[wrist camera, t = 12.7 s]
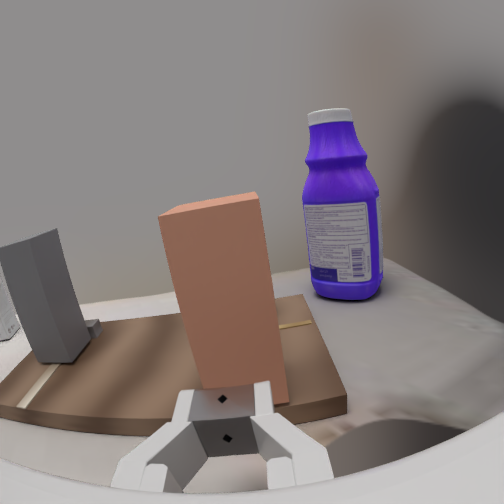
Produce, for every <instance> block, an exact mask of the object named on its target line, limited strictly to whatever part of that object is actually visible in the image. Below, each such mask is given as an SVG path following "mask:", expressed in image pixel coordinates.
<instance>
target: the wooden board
mask: <svg viewBox="0 0 504 504" xmlns="http://www.w3.org/2000/svg"><path fill="white" fill-rule="evenodd" d="M275 305H276V311H277V318H278V325H279V332H280V339H281V345H282V352H283V359H284V366H285V373H286V380H287V388H288V395H289V402H286V403H280V404H274V408H275V413H279V414H280V415H282V416H283V417H284V418H286V419H287V420H288V421H290V422H291V423H292V424H299V423H305V422H310V421H315V420H320V419H324V418H329V417H333V416H338V415H342V414H346V413H347V393H346V391H345V388H344V386H343V384H342V381H341V379H340V377H339V374H338V372H337V370H336V368H335V365H334V363H333V361H332V358H331V356H330V354H329V352H328V349H327V347H326V345H325V343H324V341H323V338H322V336H321V334H320V332H319V329H318V327H317V325H316V323H315V321H314V318H313V316H312V314H311V312H310V310H309V307H308V305H307V303H306V301H305V299H304V296H303V294H300V295H294V296H288V297H283V298H277V299H275ZM85 323H86V326H87V329H88V331H89V334H90V337H91V340H90V341H89V342H88V343H87V344H86V346H85V347H84V348H83V349H82V351H81V352H80V353H79V354H78V356H77V357H76V358H75V359H74V361H73V362H68V363H54V362H38V361H37V359H36V357H35V355H34V352H33V350H32V351H31V352H30V353H29V354H28V355H27V356H26V357H25V358H24V359H23V360H22V361H21V362H20V363H19V364H18V365H17V366H16V367H15V368H14V369H13V370H12V371H11V372H10V374H9V375H8V376H7V377H6V378H5V379H4V380H3V381H2V382H1V383H0V417H2V418H6V419H10V420H15V421H19V422H24V423H29V424H34V425H39V426H45V427H51V428H58V429H64V430H72V431H80V432H90V433H100V434H114V435H133V436H151V435H152V434H153V433H155V432H156V431H157V430H158V429H160V428H161V427H162V426H163V425H164V424H166V423H167V422H171V421H172V417H173V413H174V409H175V405H176V402H177V398H178V394H179V392H180V391H181V390H193V389H194V390H195V389H204V388H203V385H202V382H201V379H200V376H199V373H198V370H197V367H196V363H195V360H194V357H193V353H192V350H191V347H190V343H189V340H188V337H187V333H186V330H185V326H184V323H183V319H182V315H181V313H176V314H168V315H160V316H152V317H144V318H135V319H126V320H117V321H107V322H100V321H99V319H95V320H85Z"/></svg>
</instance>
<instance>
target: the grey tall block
mask: <svg viewBox="0 0 504 504" xmlns="http://www.w3.org/2000/svg"><path fill="white" fill-rule="evenodd" d="M0 262H1V266H2V269H3V273H4V276H5V279H6V283H7V286H8V289H9V292H10V295H11V297H12V300H13V303H14V306H15V309H16V312H17V314H18V317H19V319H20V322H21V324H22V327H23V329H24V332H25V334H26V337H27V339H28V341H29V343H30V346H31V348H32V350H33V352H34V355H35V357H36V359H37V361H38V362H54V363H68V362H73V361H74V359H75V358H76V357H77V356H78V354H79V353H80V352H81V351H82V349H83V348H84V347H85V346H86V344H87V343H88V342H89V341H90V340H91V337H90V334H89V331H88V329H87V326H86V323H85V321H84V318H83V315H82V312H81V310H80V307H79V304H78V301H77V298H76V295H75V292H74V289H73V285H72V282H71V279H70V276H69V272H68V269H67V265H66V262H65V258H64V254H63V251H62V247H61V243H60V239H59V235H58V231H57V229H53V230H50V231H46V232H42V233H38V234H35V235H32V236H28V237H25V238H22V239H20V240H17V241H15V242H12V243H9V244H7V245H5V246H2V247H0Z"/></svg>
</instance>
